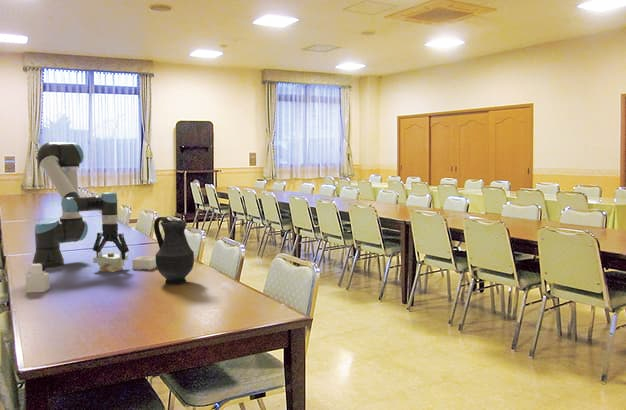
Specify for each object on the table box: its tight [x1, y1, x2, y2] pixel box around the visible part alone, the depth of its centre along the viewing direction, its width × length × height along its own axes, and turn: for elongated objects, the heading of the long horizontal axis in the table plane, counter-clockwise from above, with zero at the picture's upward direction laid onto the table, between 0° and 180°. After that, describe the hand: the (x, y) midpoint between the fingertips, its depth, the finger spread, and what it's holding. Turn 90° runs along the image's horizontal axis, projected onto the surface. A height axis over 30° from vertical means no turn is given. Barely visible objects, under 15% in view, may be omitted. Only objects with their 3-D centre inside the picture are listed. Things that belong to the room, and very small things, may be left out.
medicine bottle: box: [25, 262, 51, 294], centre depth 250 cm, size 7×7×12 cm
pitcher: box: [153, 216, 195, 286], centre depth 267 cm, size 17×21×30 cm
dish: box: [131, 255, 157, 271], centre depth 301 cm, size 10×10×5 cm
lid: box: [92, 252, 129, 264], centre depth 295 cm, size 12×12×4 cm
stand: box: [98, 262, 124, 273], centre depth 295 cm, size 8×8×4 cm
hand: (111, 265), depth 295 cm, fingers closed on lid, 12 cm apart
